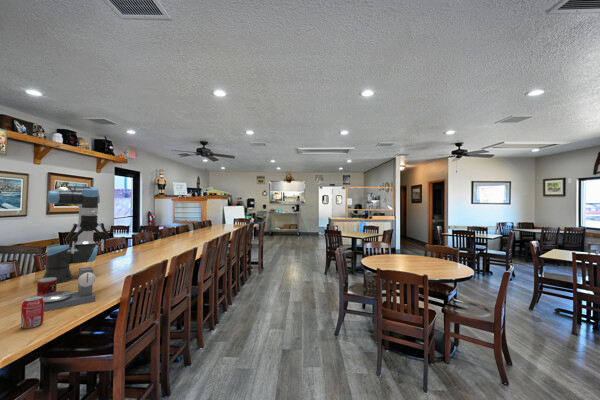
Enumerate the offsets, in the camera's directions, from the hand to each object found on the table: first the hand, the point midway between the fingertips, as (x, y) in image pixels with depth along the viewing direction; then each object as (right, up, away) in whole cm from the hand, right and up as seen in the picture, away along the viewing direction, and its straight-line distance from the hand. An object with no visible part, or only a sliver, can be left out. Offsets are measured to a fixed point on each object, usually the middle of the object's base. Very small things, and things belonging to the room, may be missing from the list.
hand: (87, 251), depth 153 cm
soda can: (+6, -25, -37) cm, 45 cm away
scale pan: (-5, -22, -15) cm, 27 cm away
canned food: (-17, -25, -7) cm, 31 cm away
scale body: (-3, -25, -12) cm, 28 cm away
